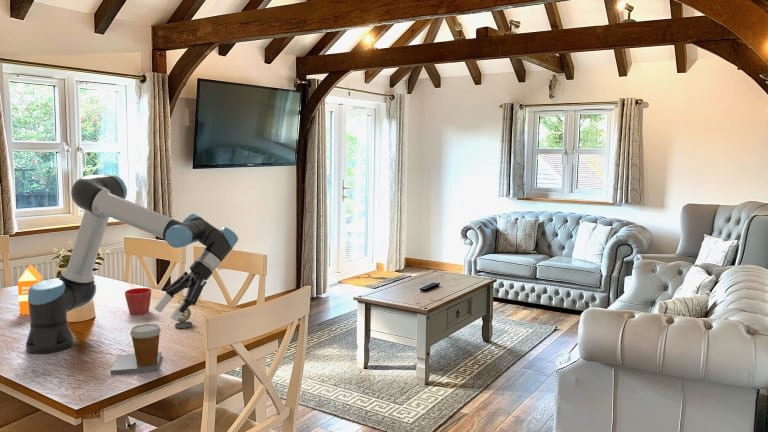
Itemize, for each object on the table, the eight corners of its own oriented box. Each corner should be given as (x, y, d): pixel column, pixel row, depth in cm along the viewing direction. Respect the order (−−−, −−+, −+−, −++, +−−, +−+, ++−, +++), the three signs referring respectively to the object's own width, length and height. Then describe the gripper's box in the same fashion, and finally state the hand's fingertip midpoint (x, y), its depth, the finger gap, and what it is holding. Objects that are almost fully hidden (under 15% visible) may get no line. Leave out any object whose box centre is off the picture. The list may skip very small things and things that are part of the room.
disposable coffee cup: (125, 365, 198) (123, 330, 196) (145, 355, 206) (144, 322, 205) (148, 369, 194) (146, 333, 193) (168, 359, 203) (167, 325, 202)
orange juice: (44, 308, 268) (41, 263, 265) (40, 313, 259) (37, 267, 257) (24, 309, 265) (21, 264, 263) (19, 315, 257) (16, 269, 254)
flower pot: (119, 314, 259) (118, 292, 258) (139, 307, 269) (138, 286, 268) (139, 317, 255) (137, 295, 254) (157, 310, 265) (156, 289, 264)
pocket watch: (182, 330, 239) (181, 305, 238) (168, 326, 243) (167, 302, 242) (198, 324, 246) (198, 300, 244) (184, 321, 250) (183, 297, 249)
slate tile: (110, 374, 194) (110, 370, 194) (118, 359, 207) (118, 355, 207) (157, 371, 197) (156, 366, 197) (161, 355, 211) (161, 351, 211)
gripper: (228, 278, 208) (188, 329, 200) (196, 266, 226) (158, 312, 218) (213, 265, 204) (172, 317, 196) (182, 254, 222) (143, 301, 214)
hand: (164, 315), depth 207 cm, fingers open, 13 cm apart
